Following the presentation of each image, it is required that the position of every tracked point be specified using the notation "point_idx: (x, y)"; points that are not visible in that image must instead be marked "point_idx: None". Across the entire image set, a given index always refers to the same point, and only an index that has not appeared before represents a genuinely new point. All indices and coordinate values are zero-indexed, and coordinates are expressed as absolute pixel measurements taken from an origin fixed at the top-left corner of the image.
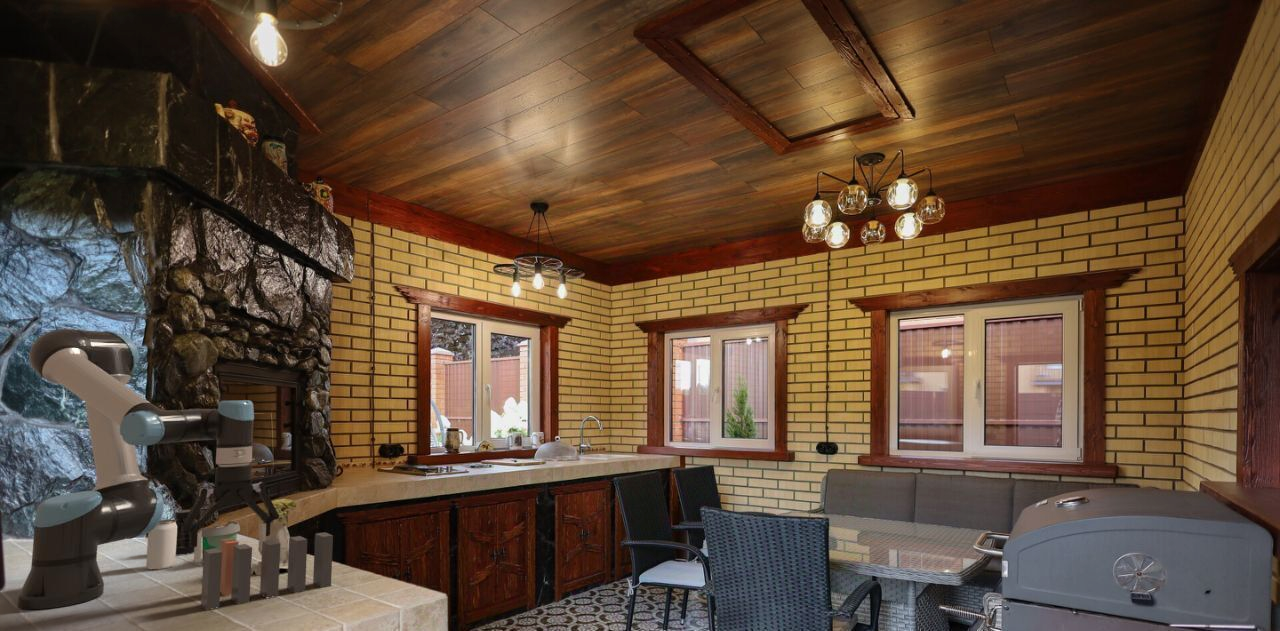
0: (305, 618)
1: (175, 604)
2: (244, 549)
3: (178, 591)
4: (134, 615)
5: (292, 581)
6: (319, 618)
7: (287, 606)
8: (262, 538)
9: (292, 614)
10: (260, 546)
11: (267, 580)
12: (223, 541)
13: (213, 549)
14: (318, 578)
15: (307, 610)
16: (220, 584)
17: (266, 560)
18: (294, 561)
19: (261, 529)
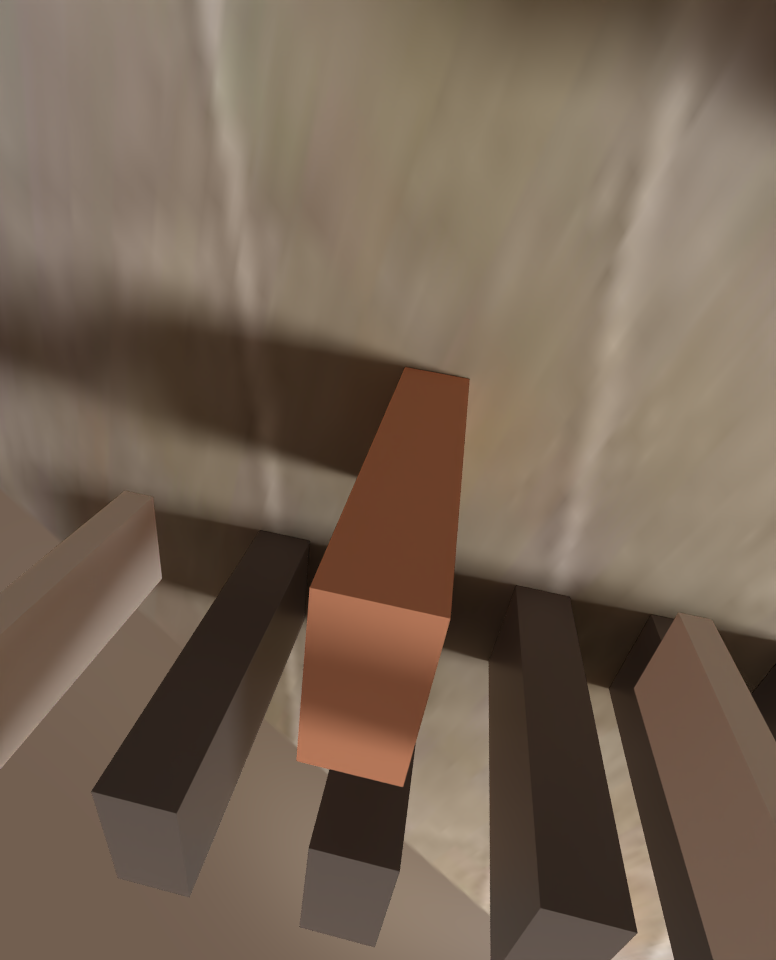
0: (442, 858)
1: (172, 423)
2: (326, 928)
3: (224, 113)
4: (15, 442)
5: (632, 710)
6: (465, 878)
7: (477, 771)
8: (674, 813)
9: (439, 821)
10: (665, 691)
11: (489, 734)
12: (304, 664)
13: (152, 826)
14: (770, 731)
15: (489, 829)
16: (268, 705)
17: (500, 821)
18: (658, 835)
19: (733, 915)
